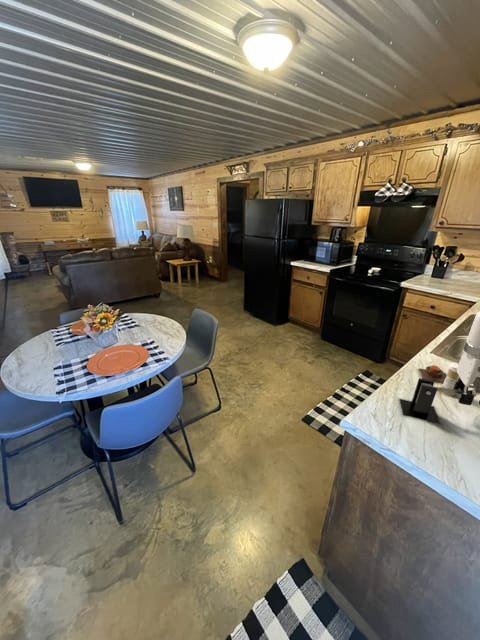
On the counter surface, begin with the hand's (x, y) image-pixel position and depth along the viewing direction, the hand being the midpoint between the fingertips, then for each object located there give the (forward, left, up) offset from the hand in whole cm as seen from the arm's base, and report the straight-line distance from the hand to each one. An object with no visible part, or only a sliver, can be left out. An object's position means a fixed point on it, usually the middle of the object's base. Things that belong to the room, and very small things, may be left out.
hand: (461, 397), depth 87 cm
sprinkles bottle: (-3, -16, -10) cm, 19 cm away
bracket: (+10, 0, -10) cm, 14 cm away
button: (0, -28, -7) cm, 29 cm away
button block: (0, -27, -10) cm, 29 cm away
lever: (+5, 0, 0) cm, 5 cm away
